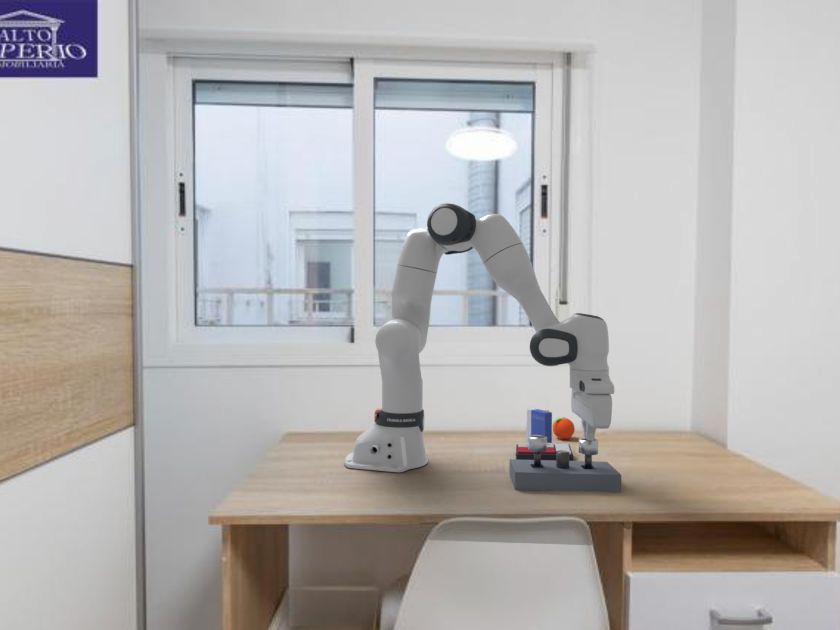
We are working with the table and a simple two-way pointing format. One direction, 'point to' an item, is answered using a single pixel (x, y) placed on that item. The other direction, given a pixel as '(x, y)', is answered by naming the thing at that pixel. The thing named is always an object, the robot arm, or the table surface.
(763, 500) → the table surface
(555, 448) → the calculator
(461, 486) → the table surface
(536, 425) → the walkman
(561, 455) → the dial
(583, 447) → the knob
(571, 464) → the panel
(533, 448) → the knob
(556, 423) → the clementine
